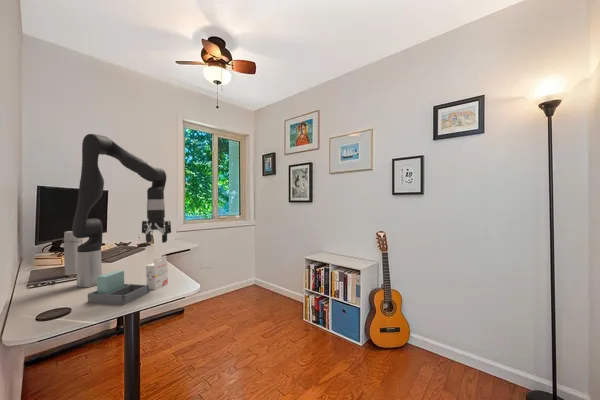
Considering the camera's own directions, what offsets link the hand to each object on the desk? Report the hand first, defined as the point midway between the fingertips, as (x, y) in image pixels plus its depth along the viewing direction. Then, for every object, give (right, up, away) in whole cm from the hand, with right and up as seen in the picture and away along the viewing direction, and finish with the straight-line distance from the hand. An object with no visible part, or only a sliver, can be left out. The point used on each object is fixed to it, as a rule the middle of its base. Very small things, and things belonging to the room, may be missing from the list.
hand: (156, 242), depth 124 cm
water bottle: (-59, -23, +22) cm, 66 cm away
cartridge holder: (-8, -22, -14) cm, 27 cm away
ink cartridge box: (0, -22, 0) cm, 22 cm away
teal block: (-13, -22, -13) cm, 28 cm away
